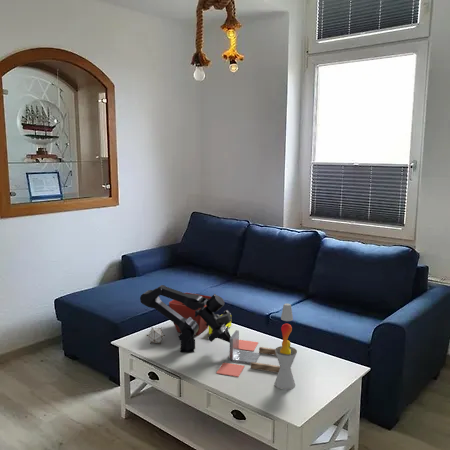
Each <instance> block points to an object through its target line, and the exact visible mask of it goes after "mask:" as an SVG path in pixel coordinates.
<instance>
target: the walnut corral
mask: <svg viewBox="0 0 450 450" xmlns="http://www.w3.org/2000/svg"><path fill="white" fill-rule="evenodd" d="M275 349H276V348H271V347H270V348H269V347H263V346H260V347H259V348H258V352H259V353H260V354H266V355H273V356H276V353H275ZM250 369H252V370H253V369H254V370H259V371H266V372H273V373H278V372H279V369H280V365H276V364H275V365H274V364H269V363H260V362H251V364H250Z"/></svg>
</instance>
